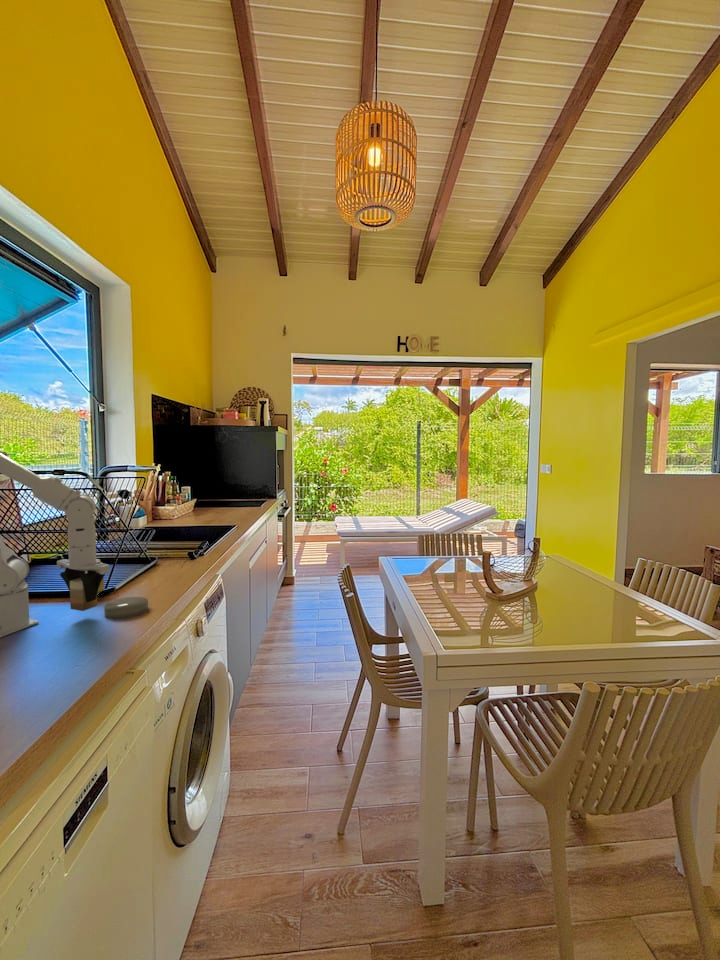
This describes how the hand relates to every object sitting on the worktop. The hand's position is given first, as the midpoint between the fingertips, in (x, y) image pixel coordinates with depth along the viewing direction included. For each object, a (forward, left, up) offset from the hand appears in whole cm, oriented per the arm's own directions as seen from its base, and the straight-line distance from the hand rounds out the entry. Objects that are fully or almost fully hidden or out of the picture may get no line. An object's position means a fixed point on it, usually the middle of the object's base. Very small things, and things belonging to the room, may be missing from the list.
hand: (83, 599), depth 110 cm
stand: (+7, -6, -5) cm, 10 cm away
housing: (0, 0, -2) cm, 2 cm away
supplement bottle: (+14, +13, -5) cm, 20 cm away
